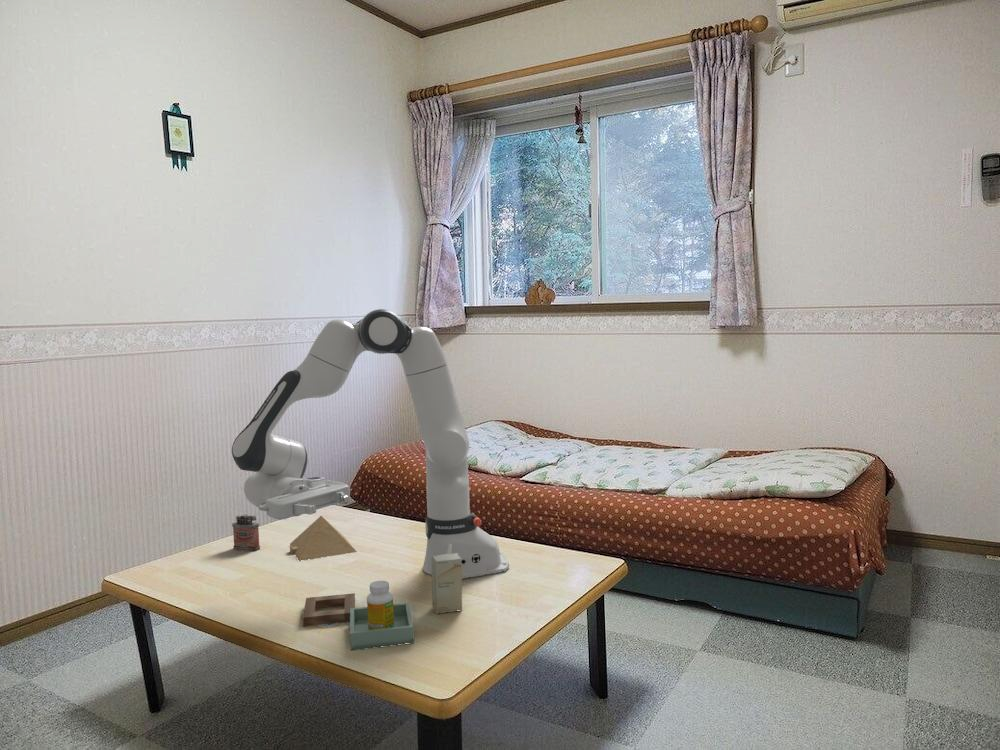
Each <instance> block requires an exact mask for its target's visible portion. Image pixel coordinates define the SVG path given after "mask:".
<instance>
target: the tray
mask: <svg viewBox="0 0 1000 750" xmlns="http://www.w3.org/2000/svg"><path fill="white" fill-rule="evenodd" d="M393 610H394V627H392V628H383V629H373V630H369V629H368V613H367V606H363V607H362V606H360V607H359V606H358V607H355V608H350V622H349V625H350V626H349V629H350V630H349V638H350V651H356V650H355V649H360V650H366V649H365V648H369V649H374V648H373V647H378V648H382V647H381V646H387V647H391V646H390V645H396V646H399V645H398V644H405V643H414V644H415V633H414V632H415V631H414V628H415V627H414V622H413V617H412V611H411V607H410V602H401V603H393ZM405 645H406V644H405Z"/></svg>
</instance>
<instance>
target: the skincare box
mask: <svg viewBox="0 0 1000 750" xmlns="http://www.w3.org/2000/svg"><path fill="white" fill-rule="evenodd" d="M462 580H463V579H462V568H461V557H460V556H459V554H458V553H452V554H442V555H432V575H431V587H432V588H431V594H432V595H431V600H432V601H431V602H432V606H431V607H432V610H433V611H434V613H435V614H437V615H438V614H439V613H440V614H446V613H445V612H449V613H454V612H453V611H457V610H462V611H463V594H462V593H463V592H462V591H463V589H462V588H463V586H462V585H463V583H462V582H463V581H462ZM457 612H458V611H457Z"/></svg>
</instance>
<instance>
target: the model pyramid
mask: <svg viewBox="0 0 1000 750" xmlns="http://www.w3.org/2000/svg"><path fill="white" fill-rule="evenodd" d="M289 544H290V545H289V551H290V553H291V555H294V556H295V555H296V556H295V557H297V558H298V559H297V558H296V559H297V561H298V560H299V561H298V562H302V561H301V560H304V561H309V560H308V559H310V560H316V559H322V558H321V557H323V558H326V557H327V556H329V557H333V556H339V555H346V553H347V554H353V553H358V551H357V550H356V549H355V548H354V546H353V545H352V544H351V543H350V542H349V540H348V539H347V538H346V537H345V536H344V534H343V533H341V532H340V531H339V530H338V529H336V527H334V525H332V524H331V523H330V522H329V521H328V520H327V519H326V518H324V517H323V515H320V516H319V517H318V518H317V519H316V520H315V521H313V522H312V523H311V524H310V525H309V526H307V528H306V529H305V530H303V531H302V532H301V533H300V534H299V535H298V536H297V537H295V538H294V540H292V541H291V542H290V543H289ZM352 546H353V547H352ZM293 553H295V554H293ZM315 558H316V559H315Z"/></svg>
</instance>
